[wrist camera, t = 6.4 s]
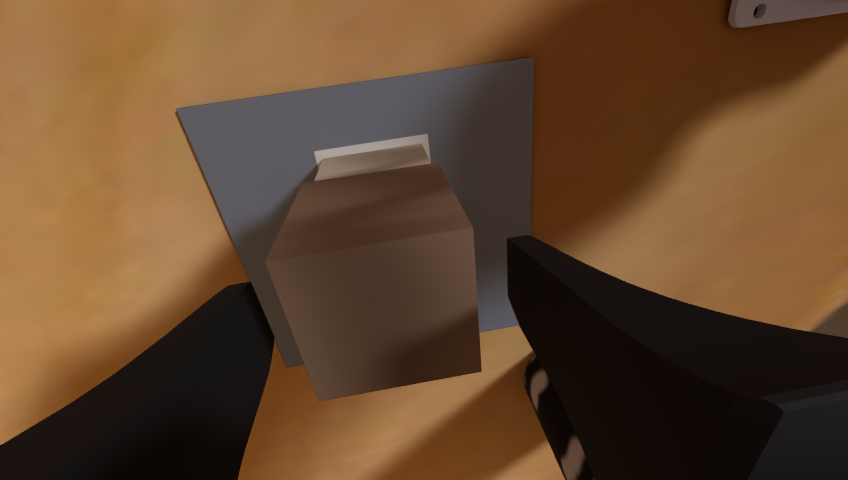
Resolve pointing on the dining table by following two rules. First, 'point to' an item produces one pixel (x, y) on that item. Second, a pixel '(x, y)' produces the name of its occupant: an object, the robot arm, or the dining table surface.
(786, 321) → the dining table surface
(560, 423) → the spotted tube
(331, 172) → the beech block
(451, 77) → the mat
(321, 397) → the walnut block
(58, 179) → the dining table surface
